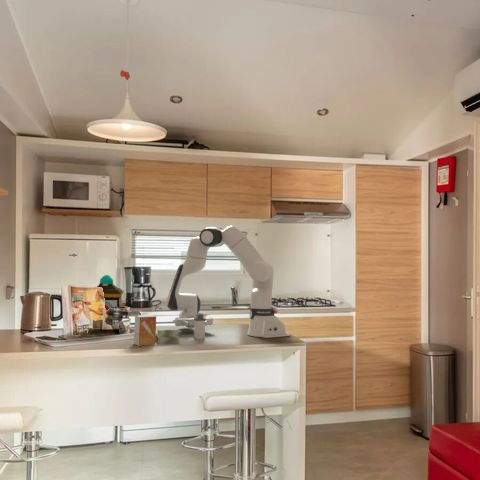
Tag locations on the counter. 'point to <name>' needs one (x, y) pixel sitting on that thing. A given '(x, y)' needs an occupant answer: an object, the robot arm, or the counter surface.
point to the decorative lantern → (111, 292)
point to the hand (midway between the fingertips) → (196, 323)
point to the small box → (145, 330)
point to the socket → (167, 336)
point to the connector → (199, 327)
